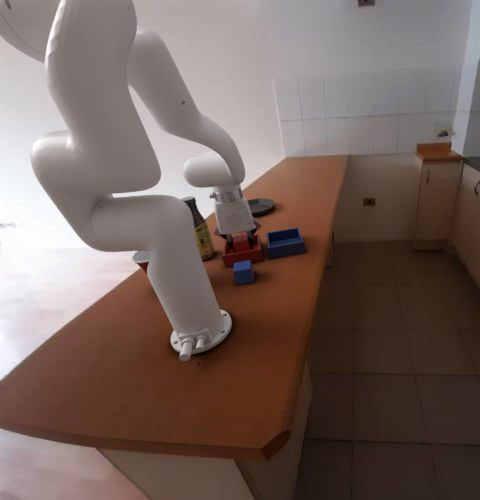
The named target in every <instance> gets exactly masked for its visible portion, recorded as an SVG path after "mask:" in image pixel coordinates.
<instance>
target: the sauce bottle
mask: <svg viewBox="0 0 480 500" xmlns="http://www.w3.org/2000/svg"><path fill="white" fill-rule="evenodd" d="M180 199H181V200H182V201H184V202H185V203H186V204H187V205H188V207H189V208H190V210H191V213H192V216H193V222H194V230H195V236H196V242H197V246H198V249H199V253H200V256H201V259H202V261H206V260H209V259H211V258H213V257H214V256H215V255H216V252H215V246H214V243H213V239H212V236H211V233H210V230H209V226H208V223H207V220H206V219H205V217H204V216H203V215H202V214H201V212H200V210H199V208H198V205H197V199H196V197H195V196H193V195H192V196H184V197H182V198H180Z"/></svg>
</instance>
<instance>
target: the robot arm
mask: <svg viewBox="0 0 480 500" xmlns="http://www.w3.org/2000/svg"><path fill="white" fill-rule="evenodd" d="M0 38H2V39H3V40H4V41H5V42H6V43H8V44H9V45H10V46H11V47H13V48H15V50H18V51H19V52H21V53H22V54H24V55H25V56H28V57H30V58H31V59H34V60H36V61H38V62H39V63H42V64H44V77H45V83H46V86H47V89H48V92H49V94H50V96H51V98H52V100H53V102H54V104H55V106H56V108H57V110H58V112H59V113H60V115H61V117H62V119H63V121H64V123H65V125H66V127H67V129H65V130H64V129H63V130H55V131H49V132H47V133H44V134H42V135H40V136H39V137H37V138H36V139H35V141H34V142H33V144H32V145H31V149H30V154H29V156H30V164H31V168H32V171H33V175H34V176H35V178H36V180H37V182H38V183H39V185H40V186H41V187H42V189H43V190H44V192H45V193H46V195H47V196H48V198H49V199H50V200H51V202H52V203H53V205H54V206H55V208H56V209H57V210H58V211H59V213H60V214H61V215H62V217H63V218H64V220H65V221H66V222H67V223H68V225H69V227H70V228H71V229H72V230H73V232H74V233H75V234H76V235H77V237H78V238H80V240H81V241H82V242H83V243H84V244H85V245H86V246H88V247H89V248H91V249H93V250H95V251H99V252H103V253H121V252H137V251H148V252H150V254H151V259H150V262H149V264H148V268H147V274H146V276H147V278H148V280H149V282H150V284H151V287H152V288H153V290H154V293H155V294H156V296H157V299H158V301H159V302H160V304H161V307H162V309H163V310H164V312H165V315H166V317H167V318H168V321H169V322H170V325H171V326H172V328H173V331H172V333H171V335H170V344H171V346H172V349H173V350H175V351H176V352H177V353H179V357H178V359H179V361H181V362H188V361H189V360H190V359H191V356H192V355H196V354H200V353H203V352H206V351H209V350H211V349H213V348H214V347H216V346H217V345H219V344H220V343H221V342H223V341H224V340H225V339H226V337H227V336H228V335H229V333H230V332H231V331H232V330H231V329H232V326H233V321H232V318H231V315H230V314H229V313H228V312H227V311H226V310H223V309H220V306H219V303H218V301H217V298H216V295H215V292H214V289H213V286H212V284H211V281H210V278H209V276H208V275H209V274H208V273H207V270H206V267H205V265H204V262H203V260H202V259H201V256H200V253H199V249H198V246H197V242H196V236H195V230H194V222H193V216H192V213H191V210H190V208H189V207H188V205H187V204H186V203H185V202H184V201H182V200H181V199H182V198H179V197H176V196H174V195H168V194H142V195H130V196H129V195H128V196H118V197H117V196H116V197H114V194H115V195H116V194H127V193H128V194H129V193H137V192H142V191H143V192H144V191H147V190H151V189H152V188H154V187H156V186H157V185H158V184H159V183H160V181H161V178H162V169H161V165H160V163H159V159H158V156H157V154H156V151H155V149H154V148H153V145H152V142H151V141H150V140H151V139H150V137H149V135H148V133H147V130H146V128H145V126H144V124H143V121H142V120H141V117H140V115H139V112H138V111H137V108H136V106H135V103H134V100H133V98H132V95H131V92H130V88H132V89H133V90H134V91H135V93H136V94H137V95H138V97H139V98H140V100H141V101H142V103H143V105H144V106H145V107H146V109H147V110H148V113H149V114H150V116H151V117H152V118H153V120H154V121H155V123H156V124H157V126H158V127H159V128H160V129H161V130H162V131H163V132H165V133H167V134H169V135H171V136H175V137H177V138H181V139H183V140H186V141H190V142H193V143H197V144H200V145H202V146H204V147H207V148H208V149H210V150H209V151H207V152H205V154H203V155H198V156H193V157H190V158H189V159H187V160H186V161H185V163H184V165H183V167H182V174H183V177H184V180H185V181H186V182H187V184H189V185H190V186H191V187H194V188H200V189H201V188H202V189H203V188H204V189H205V188H212V191H213V192H211V193H209V194H208V197H209V199H214V202H213V209H214V215H215V220H216V226H215V229H214V230H213V235H214V236H217V237H220V238H221V239H223V240H224V241H225V240H227V241H228V242H229V245H230V248H231V249H233V252H234V253H235V248H234V245H233V236H232V235H234V234H241V233H245V234H247V235H248V242H249V246H250V249H251V250H252V249H253V246H254V241H253V235H256V234H257V231H259V230H260V229H261V228H262V223H261V222H260V221H258V220H257V219H256V218H255V217H253V216H252V213H251V210H250V207H249V204H248V202H247V200H248V199H247V198H246V196H245V195H243V191H242V186H241V184H242V183H244V180H245V178H246V167H245V163H244V161H243V158H242V156H241V153H240V151H239V149H238V146H237V144H236V142H235V140H234V139H233V138H232V137H231V135H230V134H229V133H228V132H227V131H226V130H225V129H224V128H223V127H221V125H219V124H218V123H217V122H215V121H214V120H213V119H211V118H209V117H208V116H206V115H205V114H203V113H201V111H200V109H198V107H197V105H196V103H195V100H194V98H193V96H192V95H191V93H190V91H189V89H188V87H187V85H186V82H185V81H184V78H183V77H182V74H181V72H180V70H179V69H178V67H177V65H176V63H175V61H174V59H173V57H172V54H171V53H170V50H169V48H168V46H167V45H166V43H165V41H164V39H162V37H161V36H160V34H158V33H157V32H156V31H154V30H153V29H151V28H149V27H146V26H143V25H138V18H137V12H136V7H135V5H134V0H0ZM129 87H130V88H129Z"/></svg>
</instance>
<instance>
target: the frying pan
mask: <svg viewBox="0 0 480 500" xmlns="http://www.w3.org/2000/svg"><path fill="white" fill-rule="evenodd" d="M247 202H248V204H249V207H250V210H251V213H252V216H253V217H254V218H255V217H259V216H263V215H266V214H268V213H270V212H271V211H272V210H273V208H274V207H275V200H274V199H270V198H263V197H262V198H261V197H257V198H253V199H247Z"/></svg>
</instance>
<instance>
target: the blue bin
mask: <svg viewBox="0 0 480 500" xmlns="http://www.w3.org/2000/svg"><path fill="white" fill-rule="evenodd" d="M265 234H266V236H265V237H266V244H267V251H268V256H269V259H270V260H272V259H277V258H282V257H289V256H293V255H294V256H295V255H299V254H304V253H306V249H305V243H304V239H303V236H302V234H301V230H300V228H299V227H291V228H287V229H280V230H275V231H274V230H273V231H269V232H266V233H265Z"/></svg>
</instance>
